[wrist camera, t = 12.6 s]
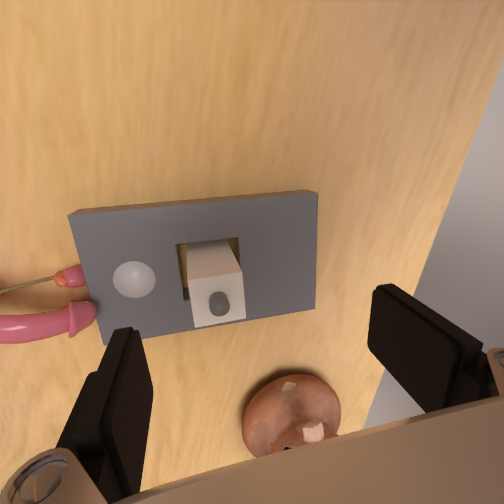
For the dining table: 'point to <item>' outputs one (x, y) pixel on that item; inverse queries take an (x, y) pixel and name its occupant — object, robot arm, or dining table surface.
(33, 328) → the anatomy model
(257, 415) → the ceramic jug
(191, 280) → the white square peg
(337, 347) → the dining table surface
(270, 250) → the block
